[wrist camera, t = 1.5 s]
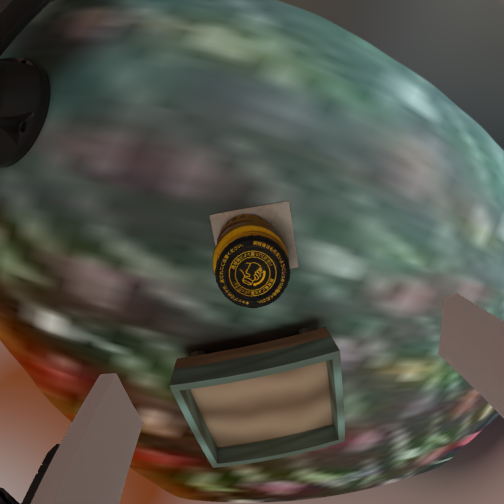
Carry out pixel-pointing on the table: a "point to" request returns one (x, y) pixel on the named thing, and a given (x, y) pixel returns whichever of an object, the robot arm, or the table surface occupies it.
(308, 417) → the shallow square tray
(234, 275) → the condiment
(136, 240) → the table surface
